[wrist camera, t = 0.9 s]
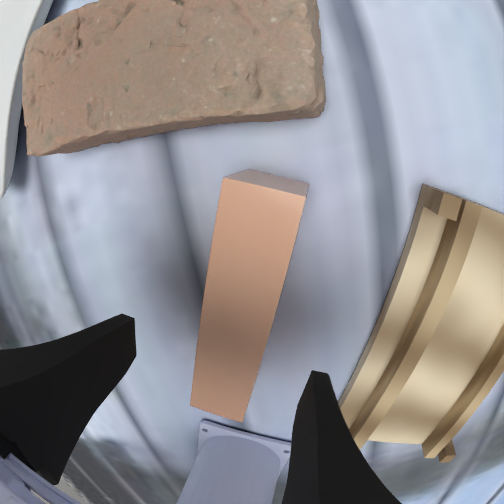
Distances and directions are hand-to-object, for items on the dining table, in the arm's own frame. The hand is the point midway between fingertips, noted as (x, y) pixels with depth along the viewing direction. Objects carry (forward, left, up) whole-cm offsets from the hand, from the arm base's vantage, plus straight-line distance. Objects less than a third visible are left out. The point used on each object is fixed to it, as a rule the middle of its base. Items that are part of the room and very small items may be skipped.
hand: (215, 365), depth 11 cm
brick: (+12, +7, -8) cm, 16 cm away
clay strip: (0, 0, -7) cm, 7 cm away
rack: (-1, -13, -7) cm, 15 cm away
